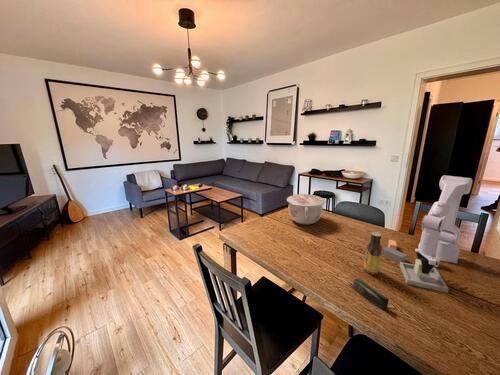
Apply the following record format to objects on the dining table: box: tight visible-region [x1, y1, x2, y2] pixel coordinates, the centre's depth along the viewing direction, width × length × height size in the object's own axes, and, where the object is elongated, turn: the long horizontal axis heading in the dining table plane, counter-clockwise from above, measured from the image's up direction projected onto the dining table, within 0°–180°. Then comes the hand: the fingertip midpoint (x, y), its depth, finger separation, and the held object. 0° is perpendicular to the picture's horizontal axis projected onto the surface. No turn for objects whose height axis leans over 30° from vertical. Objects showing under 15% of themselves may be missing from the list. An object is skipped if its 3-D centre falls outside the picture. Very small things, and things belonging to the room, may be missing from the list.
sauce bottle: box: [363, 231, 383, 276], centre depth 96 cm, size 7×6×20 cm
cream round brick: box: [433, 254, 441, 268], centre depth 101 cm, size 5×5×5 cm
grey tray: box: [399, 262, 449, 294], centre depth 92 cm, size 14×14×2 cm
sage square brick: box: [414, 258, 431, 278], centre depth 92 cm, size 4×4×6 cm
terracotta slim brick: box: [387, 239, 398, 251], centre depth 116 cm, size 3×6×4 cm, turn 153°
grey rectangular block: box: [381, 246, 408, 264], centre depth 108 cm, size 5×9×4 cm, turn 29°
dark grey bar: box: [349, 278, 390, 310], centre depth 83 cm, size 5×3×15 cm
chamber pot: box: [286, 193, 326, 225], centre depth 152 cm, size 28×28×21 cm
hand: (423, 269), depth 92 cm, fingers closed on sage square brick, 4 cm apart
